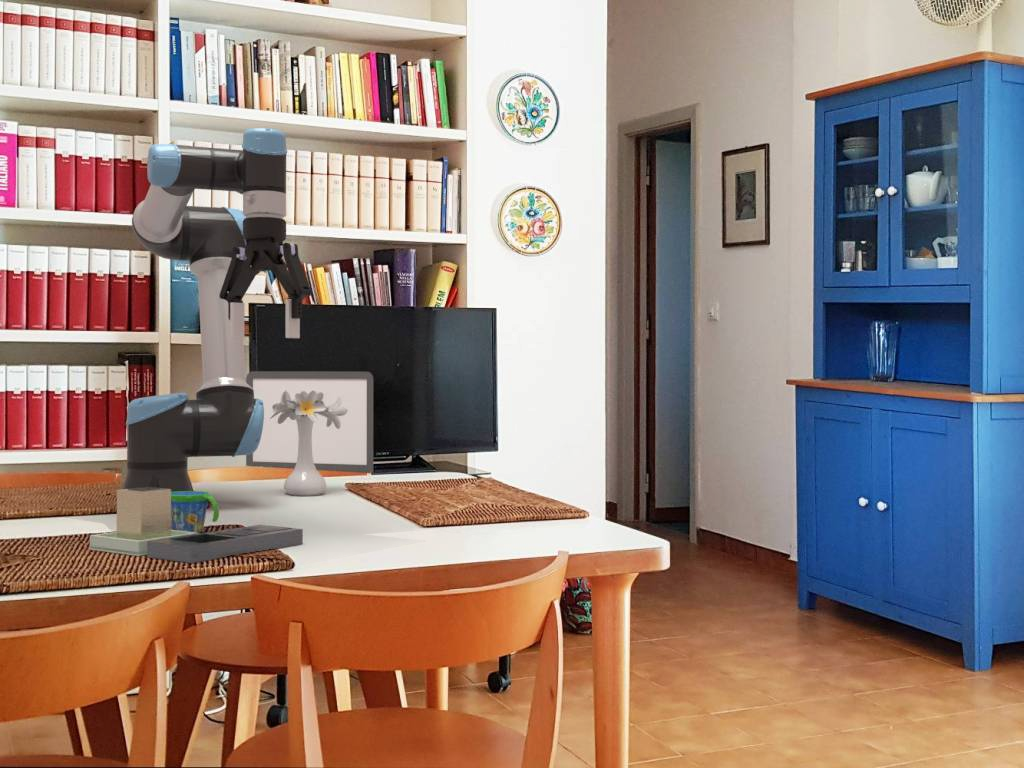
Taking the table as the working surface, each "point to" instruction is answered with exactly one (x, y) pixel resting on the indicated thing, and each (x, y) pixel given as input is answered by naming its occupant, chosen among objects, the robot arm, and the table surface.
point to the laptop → (329, 444)
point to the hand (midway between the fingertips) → (264, 338)
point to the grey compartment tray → (223, 543)
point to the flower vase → (306, 438)
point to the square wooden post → (143, 513)
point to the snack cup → (191, 510)
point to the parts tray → (126, 543)
